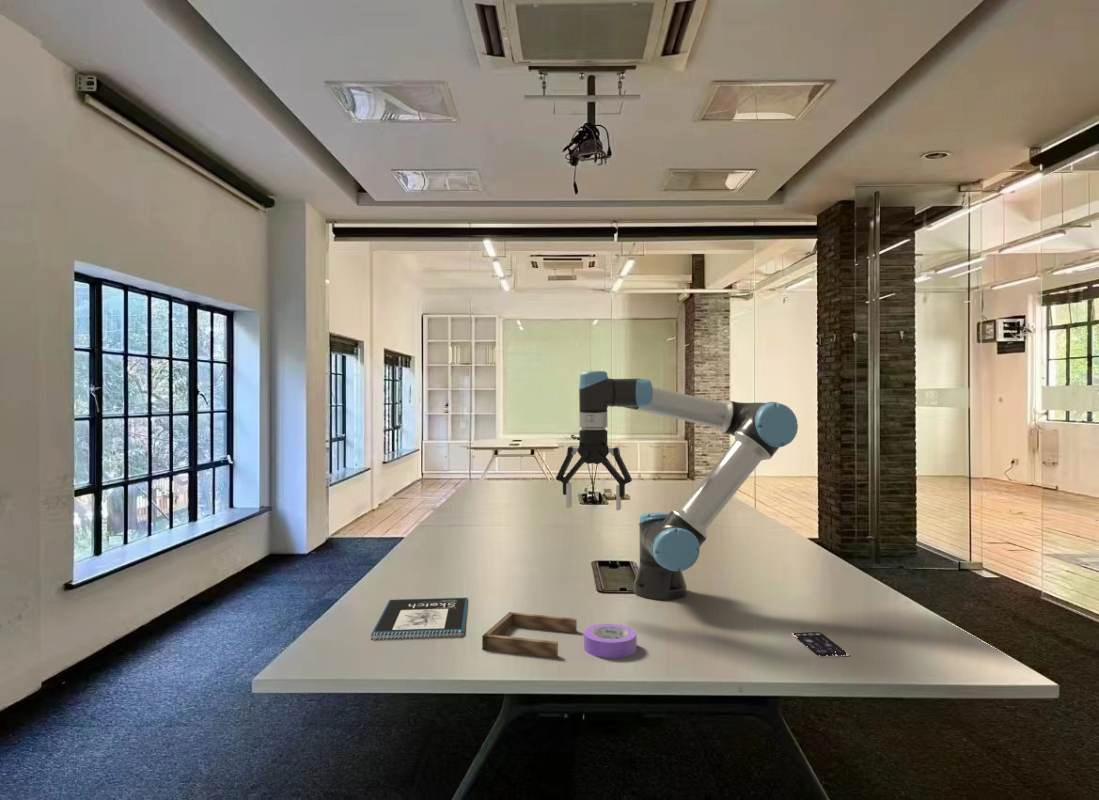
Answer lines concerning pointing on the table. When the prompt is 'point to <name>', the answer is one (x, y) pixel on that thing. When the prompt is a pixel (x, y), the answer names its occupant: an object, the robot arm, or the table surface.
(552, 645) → the wooden u-shaped frame
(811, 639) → the smartphone
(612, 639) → the masking tape
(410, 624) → the sketchbook
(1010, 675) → the table surface
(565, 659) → the table surface
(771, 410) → the robot arm
